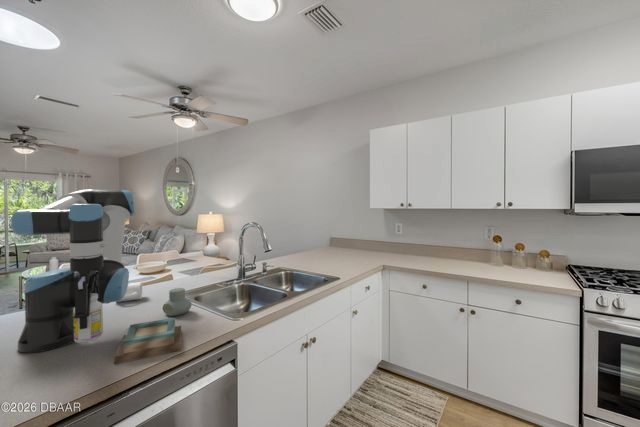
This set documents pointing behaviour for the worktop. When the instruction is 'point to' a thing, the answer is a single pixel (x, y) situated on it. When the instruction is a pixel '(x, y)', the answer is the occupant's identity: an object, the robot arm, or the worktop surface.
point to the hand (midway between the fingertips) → (88, 333)
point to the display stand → (149, 340)
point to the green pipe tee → (177, 303)
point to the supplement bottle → (96, 320)
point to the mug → (133, 292)
